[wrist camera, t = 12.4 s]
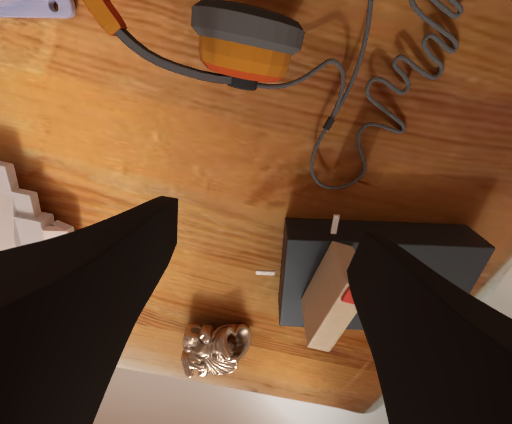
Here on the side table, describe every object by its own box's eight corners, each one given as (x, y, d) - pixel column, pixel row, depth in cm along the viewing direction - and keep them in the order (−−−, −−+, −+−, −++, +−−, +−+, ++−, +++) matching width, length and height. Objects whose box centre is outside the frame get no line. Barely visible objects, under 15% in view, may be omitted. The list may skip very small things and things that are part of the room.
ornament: (219, 298, 25) (212, 331, 22) (263, 335, 27) (262, 370, 24) (165, 329, 28) (151, 363, 24) (209, 361, 30) (202, 396, 27)
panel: (256, 297, 25) (254, 326, 22) (259, 192, 19) (257, 212, 17) (427, 306, 24) (447, 336, 21) (478, 200, 19) (514, 222, 16)
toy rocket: (-67, 141, 18) (-108, 150, 16) (72, 170, 19) (49, 182, 17) (-6, 296, 26) (-28, 315, 24) (92, 314, 27) (78, 334, 25)
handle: (319, 304, 21) (330, 356, 17) (300, 299, 20) (307, 350, 17) (353, 246, 18) (375, 292, 14) (331, 240, 18) (348, 286, 14)
